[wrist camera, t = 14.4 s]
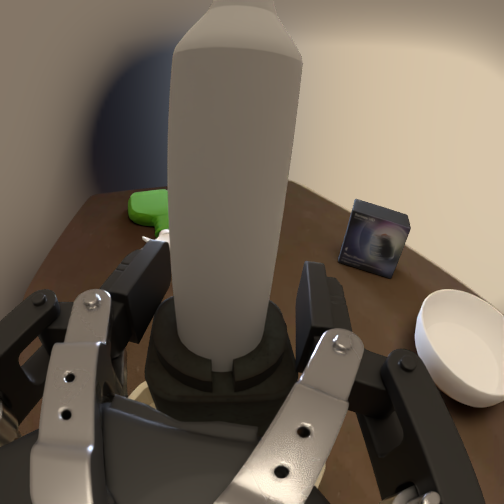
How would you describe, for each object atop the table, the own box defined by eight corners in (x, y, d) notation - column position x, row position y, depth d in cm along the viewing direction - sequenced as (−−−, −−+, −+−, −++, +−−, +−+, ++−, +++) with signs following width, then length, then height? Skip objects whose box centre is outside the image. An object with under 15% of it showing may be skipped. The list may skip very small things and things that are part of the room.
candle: (183, 482, 14) (124, -103, 1) (183, 421, 18) (163, -23, 5) (259, 480, 14) (401, -68, 2) (250, 420, 19) (318, -10, 6)
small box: (336, 263, 49) (351, 208, 43) (341, 247, 54) (354, 197, 48) (391, 280, 46) (412, 227, 40) (391, 262, 51) (408, 214, 45)
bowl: (413, 303, 40) (428, 272, 37) (501, 346, 31) (519, 318, 28) (382, 391, 27) (407, 357, 23) (499, 440, 17) (531, 413, 14)
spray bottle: (171, 199, 66) (198, 252, 48) (127, 204, 62) (134, 262, 44) (171, 188, 65) (198, 237, 47) (126, 193, 60) (132, 246, 42)
